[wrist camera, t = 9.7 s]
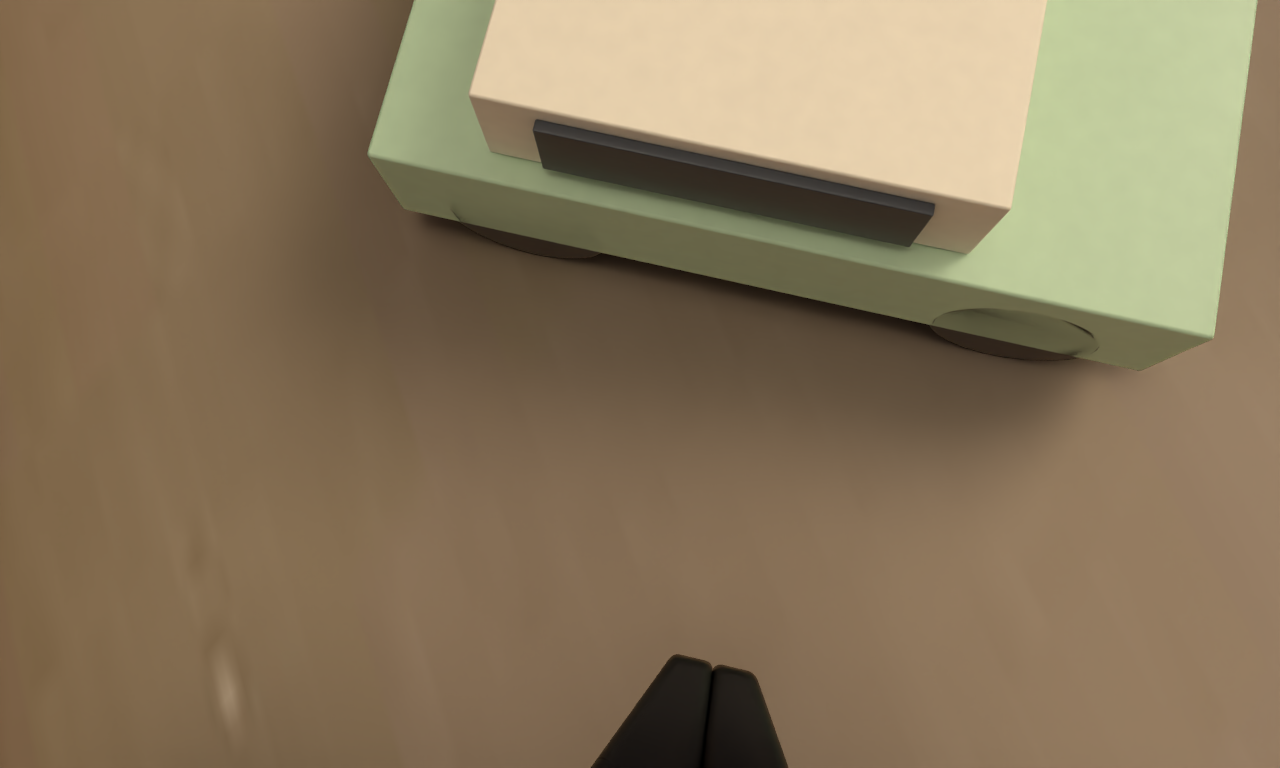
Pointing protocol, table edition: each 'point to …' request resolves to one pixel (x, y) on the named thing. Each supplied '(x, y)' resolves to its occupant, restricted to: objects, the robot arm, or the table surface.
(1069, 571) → the table surface
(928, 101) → the toy car
